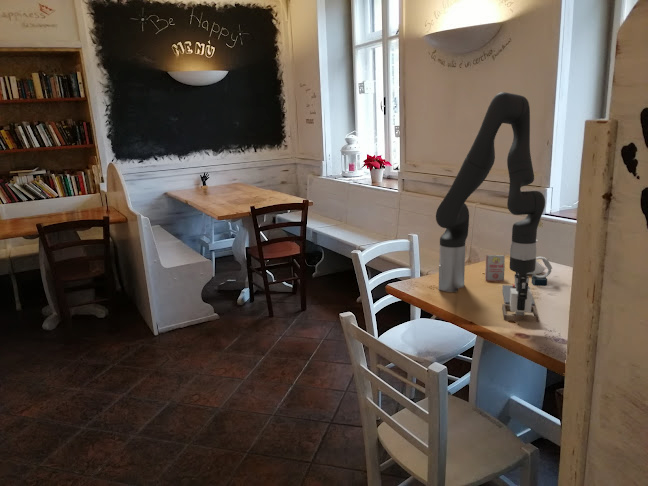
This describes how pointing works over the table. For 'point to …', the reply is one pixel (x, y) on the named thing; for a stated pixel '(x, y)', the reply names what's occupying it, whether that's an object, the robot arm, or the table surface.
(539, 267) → the flower in vase
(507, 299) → the power strip
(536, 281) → the watch
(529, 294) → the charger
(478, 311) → the table surface
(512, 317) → the tray
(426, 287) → the table surface
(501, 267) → the tea box
